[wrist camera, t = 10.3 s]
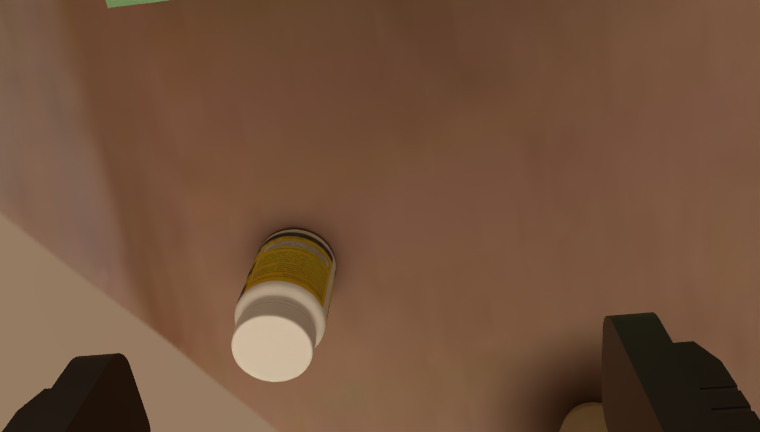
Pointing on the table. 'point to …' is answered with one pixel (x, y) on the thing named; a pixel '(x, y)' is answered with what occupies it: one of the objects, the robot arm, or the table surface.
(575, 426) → the decorative mushroom
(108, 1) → the green flat block
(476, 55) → the table surface
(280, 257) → the supplement bottle
